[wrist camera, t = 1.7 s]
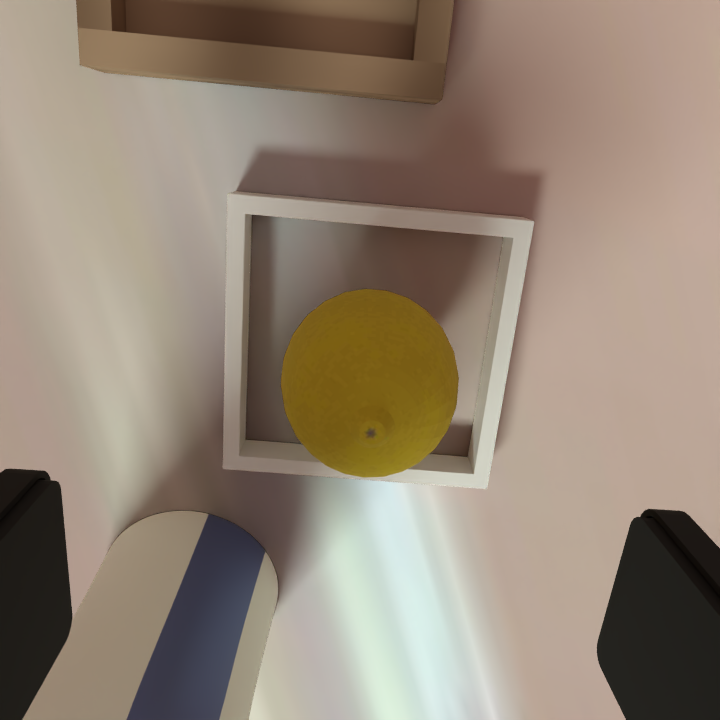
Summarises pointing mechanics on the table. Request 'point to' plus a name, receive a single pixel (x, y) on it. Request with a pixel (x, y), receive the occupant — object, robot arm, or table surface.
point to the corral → (246, 204)
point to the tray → (275, 43)
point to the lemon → (369, 383)
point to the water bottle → (167, 626)
